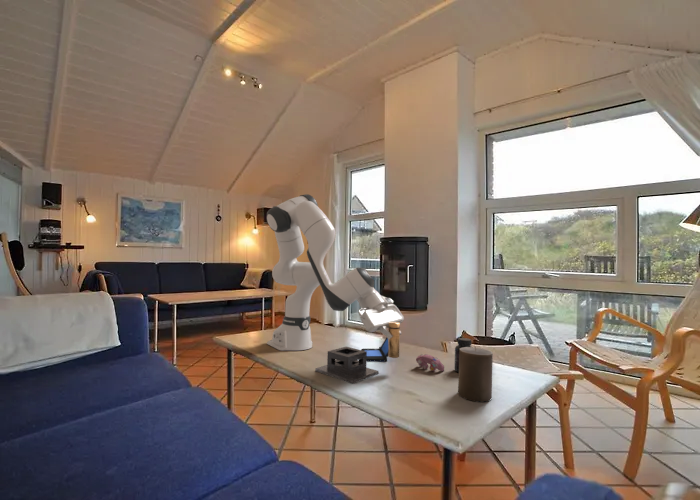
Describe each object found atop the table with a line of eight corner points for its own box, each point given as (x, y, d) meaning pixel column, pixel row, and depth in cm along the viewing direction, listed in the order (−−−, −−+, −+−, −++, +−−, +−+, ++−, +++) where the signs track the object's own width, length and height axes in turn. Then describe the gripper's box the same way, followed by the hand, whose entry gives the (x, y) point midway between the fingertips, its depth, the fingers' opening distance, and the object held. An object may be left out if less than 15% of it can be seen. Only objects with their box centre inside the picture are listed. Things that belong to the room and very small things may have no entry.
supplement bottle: (475, 375, 124) (475, 341, 124) (455, 373, 125) (455, 340, 126) (472, 369, 131) (472, 337, 131) (453, 367, 132) (454, 336, 133)
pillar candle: (474, 404, 99) (475, 351, 99) (451, 391, 108) (452, 343, 108) (499, 399, 103) (500, 349, 103) (475, 388, 112) (476, 341, 112)
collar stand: (315, 371, 125) (315, 350, 125) (341, 362, 135) (342, 343, 135) (352, 383, 113) (353, 360, 113) (378, 373, 123) (378, 352, 124)
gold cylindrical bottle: (385, 356, 124) (386, 322, 124) (392, 353, 127) (392, 321, 127) (395, 358, 121) (395, 324, 121) (401, 356, 124) (402, 322, 124)
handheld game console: (360, 351, 153) (361, 330, 154) (390, 352, 154) (391, 331, 155) (364, 362, 138) (364, 339, 138) (397, 362, 139) (397, 339, 139)
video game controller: (417, 371, 132) (413, 356, 130) (422, 363, 135) (418, 349, 133) (440, 377, 125) (437, 362, 123) (446, 369, 129) (442, 354, 126)
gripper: (361, 303, 121) (383, 336, 114) (394, 298, 136) (415, 327, 130) (351, 314, 124) (372, 347, 117) (384, 308, 139) (404, 336, 133)
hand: (395, 336), depth 124 cm, fingers closed on gold cylindrical bottle, 4 cm apart
